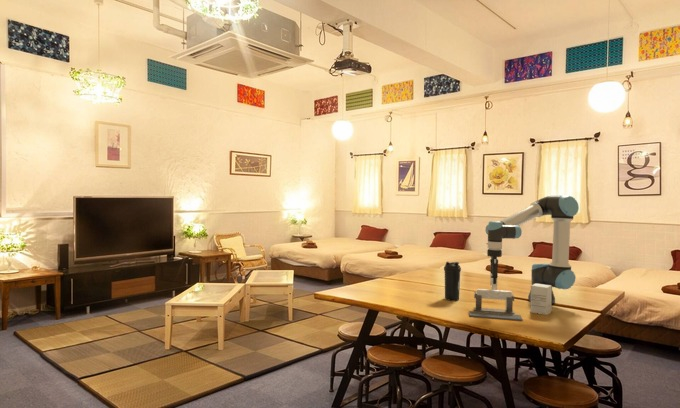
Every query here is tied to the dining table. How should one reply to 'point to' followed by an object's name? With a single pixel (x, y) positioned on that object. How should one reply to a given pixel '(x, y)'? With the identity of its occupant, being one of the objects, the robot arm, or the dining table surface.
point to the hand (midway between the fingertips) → (493, 287)
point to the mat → (495, 315)
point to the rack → (508, 309)
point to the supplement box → (541, 298)
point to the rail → (494, 294)
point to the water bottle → (452, 281)
